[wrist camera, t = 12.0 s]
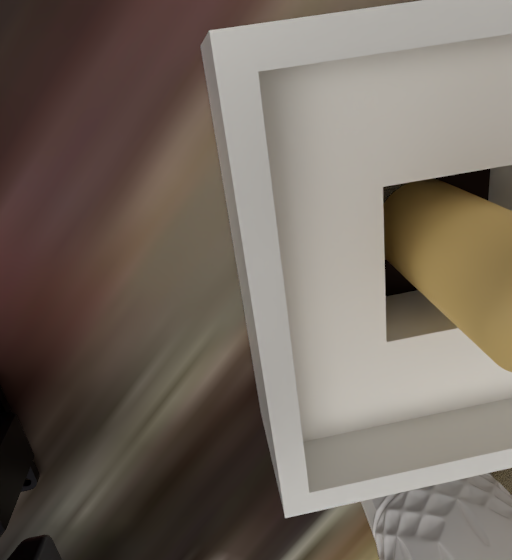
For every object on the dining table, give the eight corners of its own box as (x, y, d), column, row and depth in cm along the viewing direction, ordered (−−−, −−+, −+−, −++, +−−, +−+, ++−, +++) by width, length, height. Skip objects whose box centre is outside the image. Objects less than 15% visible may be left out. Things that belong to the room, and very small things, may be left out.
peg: (375, 276, 21) (477, 386, 13) (373, 186, 19) (489, 258, 12) (461, 260, 21) (607, 361, 14) (467, 171, 19) (636, 231, 12)
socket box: (260, 412, 23) (285, 518, 17) (200, 45, 16) (208, 30, 11) (568, 349, 24) (683, 429, 18) (630, -16, 17) (835, -59, 12)
